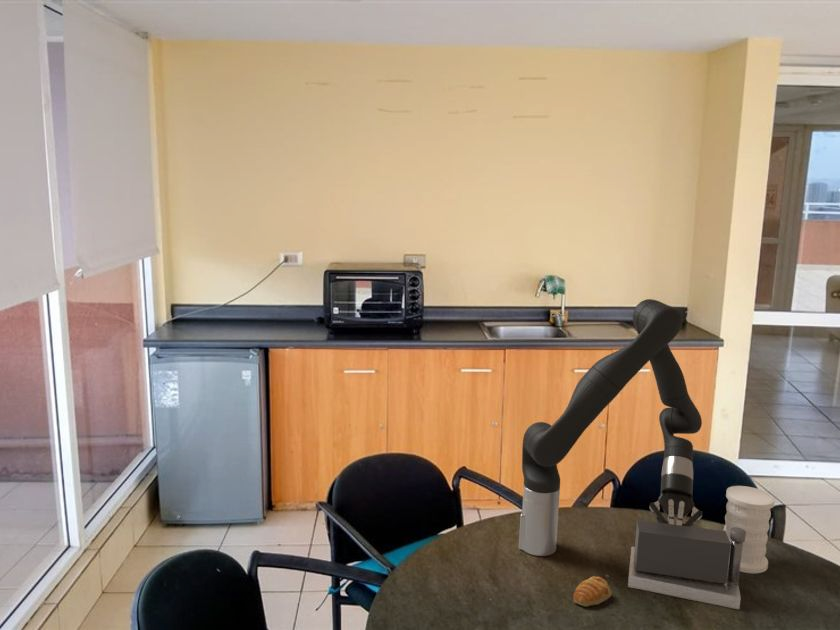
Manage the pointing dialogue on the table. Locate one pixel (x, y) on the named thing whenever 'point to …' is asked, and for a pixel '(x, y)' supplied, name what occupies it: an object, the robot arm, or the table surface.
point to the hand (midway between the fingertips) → (673, 545)
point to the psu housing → (693, 583)
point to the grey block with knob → (684, 550)
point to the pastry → (592, 592)
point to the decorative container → (750, 524)
